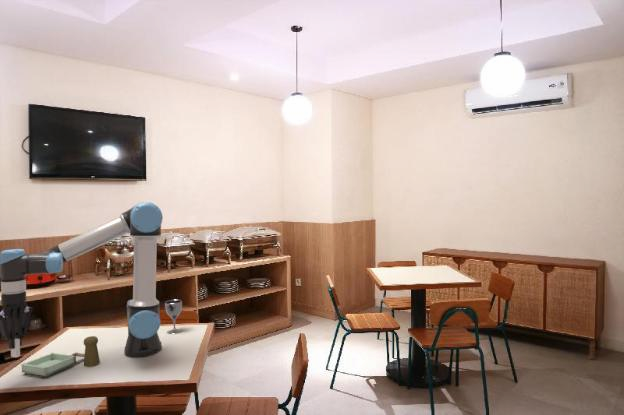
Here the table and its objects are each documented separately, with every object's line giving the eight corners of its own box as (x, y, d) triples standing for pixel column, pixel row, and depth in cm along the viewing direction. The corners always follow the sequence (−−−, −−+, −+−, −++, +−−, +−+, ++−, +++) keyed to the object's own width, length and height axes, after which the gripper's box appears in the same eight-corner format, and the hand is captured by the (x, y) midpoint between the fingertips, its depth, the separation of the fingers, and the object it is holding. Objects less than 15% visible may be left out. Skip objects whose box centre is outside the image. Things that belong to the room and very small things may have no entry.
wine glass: (168, 329, 220) (167, 300, 220) (184, 328, 221) (183, 299, 221) (164, 334, 213) (163, 303, 212) (181, 333, 213) (180, 303, 213)
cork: (93, 367, 173) (92, 339, 173) (79, 366, 174) (78, 339, 174) (103, 361, 179) (102, 334, 179) (90, 360, 180) (89, 334, 180)
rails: (94, 356, 185) (94, 355, 185) (44, 378, 163) (44, 376, 163) (75, 354, 189) (75, 352, 189) (23, 375, 167) (23, 373, 167)
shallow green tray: (76, 363, 175) (75, 356, 175) (46, 376, 163) (45, 368, 163) (52, 359, 180) (52, 352, 180) (21, 372, 168) (21, 364, 168)
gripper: (24, 287, 166) (25, 349, 167) (-12, 295, 154) (-10, 361, 155) (37, 289, 164) (39, 351, 164) (2, 296, 151) (4, 364, 152)
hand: (15, 356), depth 159 cm, fingers closed
